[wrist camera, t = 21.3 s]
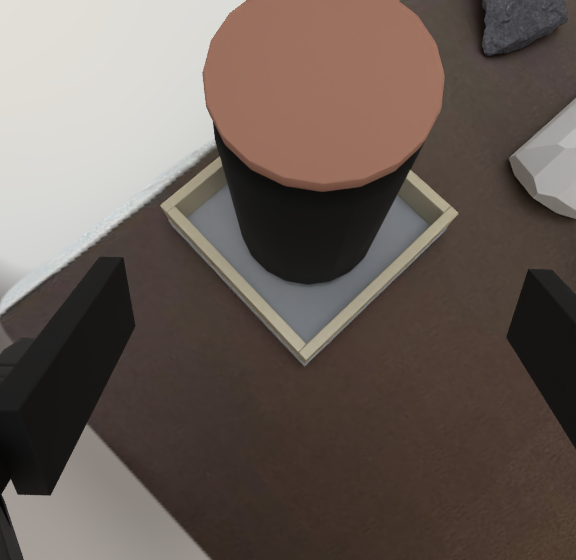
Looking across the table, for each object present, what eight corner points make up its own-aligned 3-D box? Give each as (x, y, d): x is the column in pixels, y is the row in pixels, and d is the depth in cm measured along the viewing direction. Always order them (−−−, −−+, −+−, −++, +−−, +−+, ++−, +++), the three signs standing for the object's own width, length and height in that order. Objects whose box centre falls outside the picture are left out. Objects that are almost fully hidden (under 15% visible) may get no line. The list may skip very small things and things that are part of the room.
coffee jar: (348, 150, 40) (396, -49, 22) (392, 266, 37) (485, 144, 20) (226, 184, 39) (175, 6, 21) (262, 305, 36) (238, 215, 19)
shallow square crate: (304, 367, 36) (306, 362, 32) (171, 225, 39) (157, 205, 35) (443, 232, 39) (461, 213, 35) (309, 110, 42) (311, 78, 38)
